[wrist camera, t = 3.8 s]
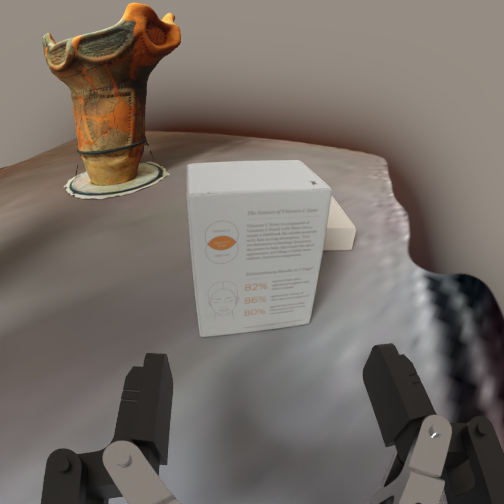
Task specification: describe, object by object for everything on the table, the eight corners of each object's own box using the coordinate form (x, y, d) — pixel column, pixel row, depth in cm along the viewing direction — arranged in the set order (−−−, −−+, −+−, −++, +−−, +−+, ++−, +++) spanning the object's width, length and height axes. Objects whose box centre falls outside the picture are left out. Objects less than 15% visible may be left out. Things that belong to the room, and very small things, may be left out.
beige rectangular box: (212, 251, 31) (211, 227, 29) (215, 201, 41) (215, 183, 39) (351, 250, 32) (356, 228, 30) (321, 202, 42) (324, 185, 41)
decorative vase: (81, 161, 57) (80, 29, 42) (187, 162, 58) (196, 17, 43) (24, 203, 39) (13, 24, 25) (158, 208, 41) (166, -9, 26)
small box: (289, 280, 27) (302, 158, 22) (310, 326, 23) (336, 187, 17) (193, 289, 26) (185, 161, 20) (198, 339, 21) (186, 192, 15)
